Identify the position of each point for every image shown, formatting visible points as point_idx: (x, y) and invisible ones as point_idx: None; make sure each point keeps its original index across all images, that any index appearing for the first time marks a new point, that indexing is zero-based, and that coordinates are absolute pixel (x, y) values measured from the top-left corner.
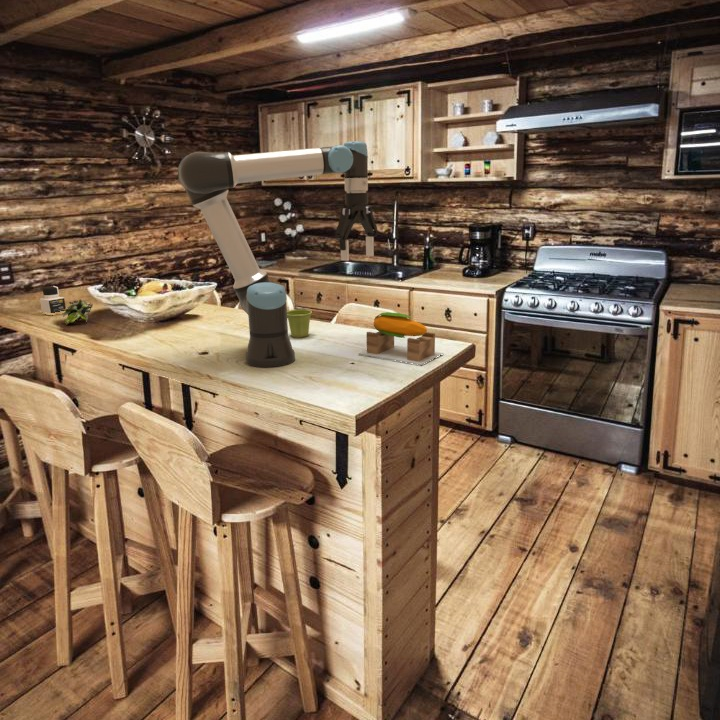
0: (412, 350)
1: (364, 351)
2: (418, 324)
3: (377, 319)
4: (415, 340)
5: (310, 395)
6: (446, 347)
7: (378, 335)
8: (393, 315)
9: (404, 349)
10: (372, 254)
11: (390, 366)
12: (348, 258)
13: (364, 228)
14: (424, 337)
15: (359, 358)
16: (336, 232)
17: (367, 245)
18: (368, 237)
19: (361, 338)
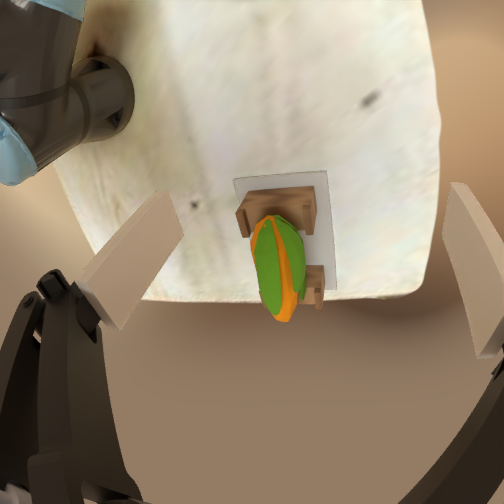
0: None
1: (250, 182)
2: (277, 317)
3: (254, 242)
4: (262, 302)
5: (101, 245)
6: (383, 272)
7: (249, 234)
8: (259, 288)
9: (316, 233)
10: (446, 243)
11: (230, 256)
12: (175, 242)
13: (483, 418)
14: (308, 293)
15: (221, 195)
16: (14, 326)
17: (475, 248)
18: (492, 322)
19: (343, 90)
